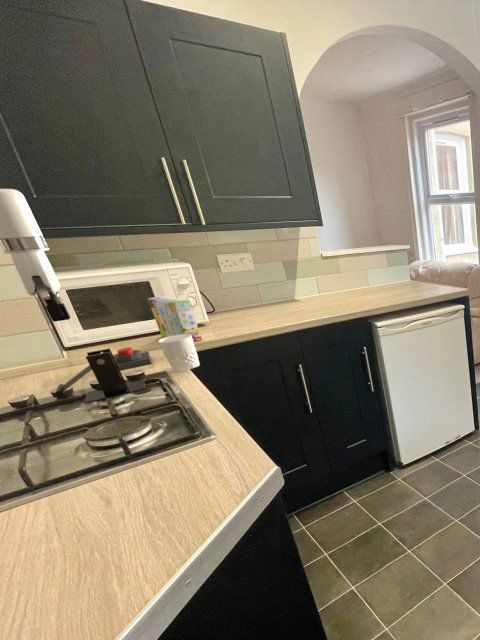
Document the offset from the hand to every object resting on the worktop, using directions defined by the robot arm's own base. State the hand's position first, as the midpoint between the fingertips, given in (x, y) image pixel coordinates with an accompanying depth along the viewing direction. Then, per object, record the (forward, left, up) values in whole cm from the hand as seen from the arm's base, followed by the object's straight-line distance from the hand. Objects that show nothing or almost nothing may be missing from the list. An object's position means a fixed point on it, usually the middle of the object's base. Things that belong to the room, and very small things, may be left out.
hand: (62, 319), depth 108 cm
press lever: (+1, -10, -13) cm, 17 cm away
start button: (+8, +17, -16) cm, 24 cm away
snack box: (+23, +42, -20) cm, 52 cm away
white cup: (+21, -2, -20) cm, 29 cm away
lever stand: (+5, -10, -20) cm, 23 cm away
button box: (+8, +17, -20) cm, 27 cm away
